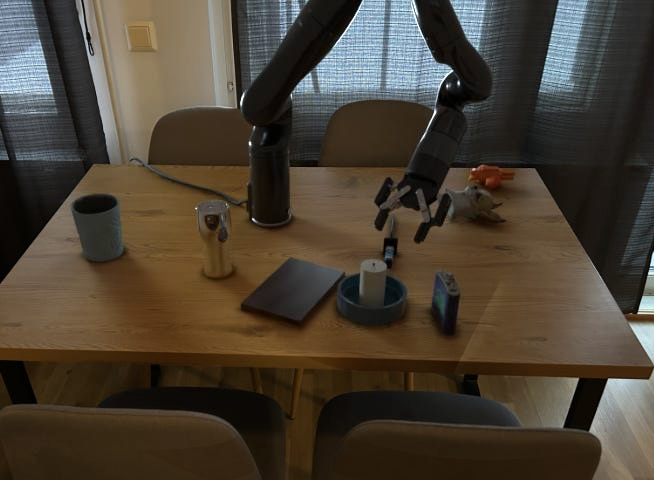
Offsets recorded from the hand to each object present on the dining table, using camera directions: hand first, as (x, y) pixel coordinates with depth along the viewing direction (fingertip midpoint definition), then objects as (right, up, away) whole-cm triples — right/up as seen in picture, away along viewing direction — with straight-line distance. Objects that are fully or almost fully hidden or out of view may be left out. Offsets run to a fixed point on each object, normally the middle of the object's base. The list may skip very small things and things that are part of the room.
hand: (396, 235), depth 123 cm
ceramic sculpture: (+23, +8, +33) cm, 41 cm away
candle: (-5, -13, +2) cm, 14 cm away
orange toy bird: (+32, +19, +49) cm, 62 cm away
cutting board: (-20, -11, +6) cm, 23 cm away
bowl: (-5, -14, +2) cm, 15 cm away
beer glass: (-36, -6, +13) cm, 39 cm away
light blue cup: (-62, -2, +20) cm, 65 cm away
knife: (+2, -1, +21) cm, 21 cm away
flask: (+8, -17, -2) cm, 19 cm away
